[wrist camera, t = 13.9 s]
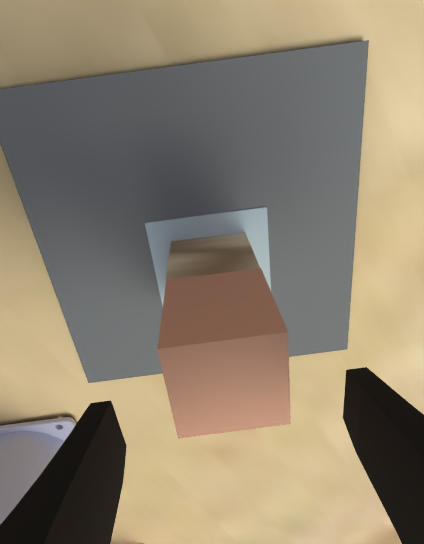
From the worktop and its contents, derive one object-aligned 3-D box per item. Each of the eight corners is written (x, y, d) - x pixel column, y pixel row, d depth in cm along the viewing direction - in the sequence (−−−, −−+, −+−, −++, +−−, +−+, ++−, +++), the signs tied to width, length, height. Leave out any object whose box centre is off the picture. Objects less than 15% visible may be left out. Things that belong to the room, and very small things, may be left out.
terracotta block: (181, 355, 16) (178, 438, 12) (166, 280, 15) (157, 349, 11) (265, 344, 16) (290, 423, 12) (260, 267, 15) (288, 332, 11)
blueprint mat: (90, 377, 23) (88, 384, 23) (-13, 91, 16) (-20, 91, 15) (344, 344, 23) (347, 350, 23) (363, 42, 16) (369, 40, 15)
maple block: (181, 304, 20) (179, 355, 16) (171, 241, 19) (165, 280, 15) (249, 296, 20) (264, 344, 16) (245, 232, 19) (260, 268, 15)
